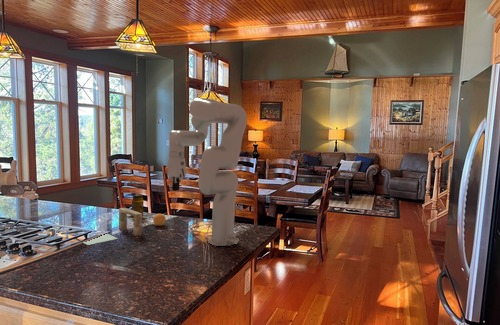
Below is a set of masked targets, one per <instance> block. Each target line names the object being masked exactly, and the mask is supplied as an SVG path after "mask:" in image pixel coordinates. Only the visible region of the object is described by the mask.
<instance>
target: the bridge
mask: <svg viewBox="0 0 500 325" xmlns="http://www.w3.org/2000/svg"><path fill="white" fill-rule="evenodd" d="M127 216H134V219H133V230H132V231H133V234H132V235H133V236H135V237H136V236H142V234H143V232H142V231H143V218H142V213H139V212H136V211H133V210H132V209H129V208H127V207H121V208H118V229H119V230H125V229H127V228H128V218H127Z"/></svg>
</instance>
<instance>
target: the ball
mask: <svg viewBox="0 0 500 325" xmlns="http://www.w3.org/2000/svg"><path fill="white" fill-rule="evenodd" d="M166 219H167V218H166V216H165V215H164V214H163V213H157V214H155V215H154V217H153V223H154V225H156V226H159V227H160V226H164V225H165V223H166Z"/></svg>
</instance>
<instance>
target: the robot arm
mask: <svg viewBox="0 0 500 325" xmlns="http://www.w3.org/2000/svg"><path fill="white" fill-rule="evenodd" d="M188 110H189V113H190V115H191V119H190V121H191V122H190V123H191V125H192V126H193V128H194V129H195V130H171V131H169V138H168V139H169V144H168V147H169V148H168V149H169V150H168V151H169V152H168V159H167V160H168V162H167V175H168V178H169V179H170V180H171V183H172V185H171V186H172V188H171V190H172V191H174V192H176V191H180V183H181V181H184V178H185V177H187V166H186V165H187V163H186V158H185V147H197V146H199V145H201V144H202V143H203V142H205V140H207V138H208V134H209V126H211V125H212V124H224V125H225V124H228V125H227V127H226V128H225V129H224V131H223V133H222V135H221V140H220V144H219V145H212V146H208V147H207V148H205V150H203V152H202V155H201V160H200V165H199V172H198V174H199V175H198V182H197V183H198V188H199V191H200V192H201V193H202V194H203V195H215V196H214V198H213V201H212V215H211V216H212V220H211V222H212V223H211V237H210V238H208V240H207V243H208V244H209V243H210V244H212V245H222V246H223V245H231V243H232V244H236V245H237V244H238V242H240V239H239V238H238V237H236V233H235V212H236V211H235V210H236V209H235V208H236V195H237V191H238V187H239V178H238V176H237V174H236V173H235V172H234V171H231V170H227V169H233V168H235V167H237V165H238V163H239V160H240V159H239V158H240V154H241V149H242V143H243V142H242V141H243V138H244V133H245V131H246V127H247V123H248V117H247V113H246V110H245V109H244V108H243V107H242V106H240V105H239V104H236V103H230V102H229V103H228V102H220V101H218V100H216V99H213V98H204V97H203V98H202V97H197V98H194V99H192V101H191V102H190V104H189V109H188ZM210 244H209V245H210ZM212 245H211V246H212Z"/></svg>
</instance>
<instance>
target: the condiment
mask: <svg viewBox="0 0 500 325" xmlns="http://www.w3.org/2000/svg"><path fill="white" fill-rule="evenodd" d="M131 210H133V211H136V212H139V213H142V219H144V218H146V216H145V215H144V196H143V194H133V195H132V200H131ZM127 219H129V220H134V216H131V215H127Z"/></svg>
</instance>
